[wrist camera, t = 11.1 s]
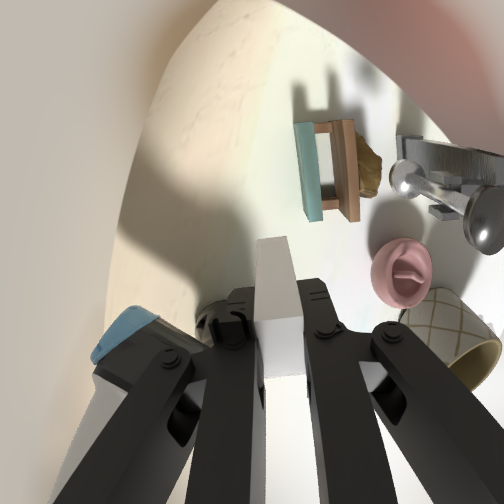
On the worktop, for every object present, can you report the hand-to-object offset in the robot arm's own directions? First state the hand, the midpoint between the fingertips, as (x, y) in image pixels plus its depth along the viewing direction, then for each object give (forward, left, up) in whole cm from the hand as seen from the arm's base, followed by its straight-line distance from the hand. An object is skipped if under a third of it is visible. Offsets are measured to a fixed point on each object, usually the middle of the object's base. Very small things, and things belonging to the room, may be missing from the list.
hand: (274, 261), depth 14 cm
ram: (+16, 0, -17) cm, 23 cm away
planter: (+33, -35, -31) cm, 57 cm away
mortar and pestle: (+21, -18, -31) cm, 41 cm away
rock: (+14, 0, -30) cm, 34 cm away
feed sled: (+9, 0, -30) cm, 32 cm away
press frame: (+21, 0, -31) cm, 37 cm away
